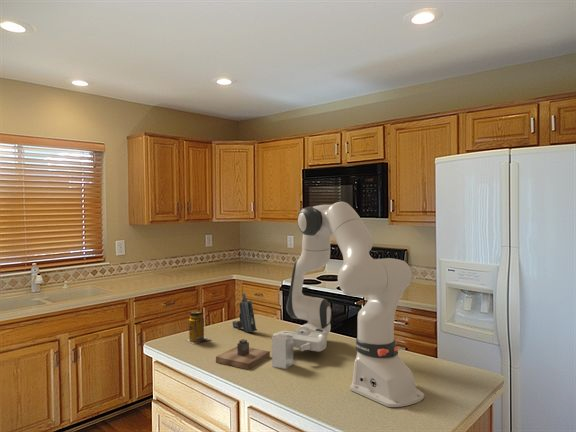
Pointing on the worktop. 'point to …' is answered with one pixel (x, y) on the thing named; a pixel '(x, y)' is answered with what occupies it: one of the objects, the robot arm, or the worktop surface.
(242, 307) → the gun
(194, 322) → the condiment
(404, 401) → the robot arm
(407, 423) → the worktop surface
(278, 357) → the tall wooden block
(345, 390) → the worktop surface
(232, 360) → the wooden base with peg
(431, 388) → the worktop surface
